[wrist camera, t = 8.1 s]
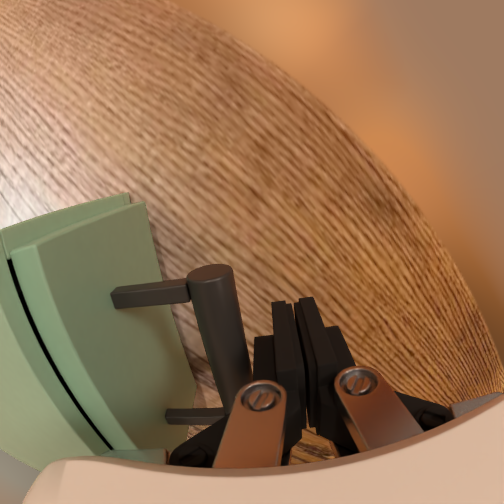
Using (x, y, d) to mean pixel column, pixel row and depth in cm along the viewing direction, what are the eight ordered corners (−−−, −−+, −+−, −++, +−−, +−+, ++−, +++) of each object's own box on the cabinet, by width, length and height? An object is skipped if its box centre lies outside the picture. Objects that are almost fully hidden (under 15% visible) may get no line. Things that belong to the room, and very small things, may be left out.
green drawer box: (129, 191, 13) (-21, 237, 4) (184, 383, 16) (155, 509, 7) (-9, 236, 13) (-97, 280, 4) (47, 374, 17) (-5, 446, 8)
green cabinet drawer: (230, 184, 12) (202, 206, 5) (262, 380, 15) (271, 493, 8) (-1, 242, 12) (-80, 282, 5) (55, 378, 16) (11, 442, 8)
